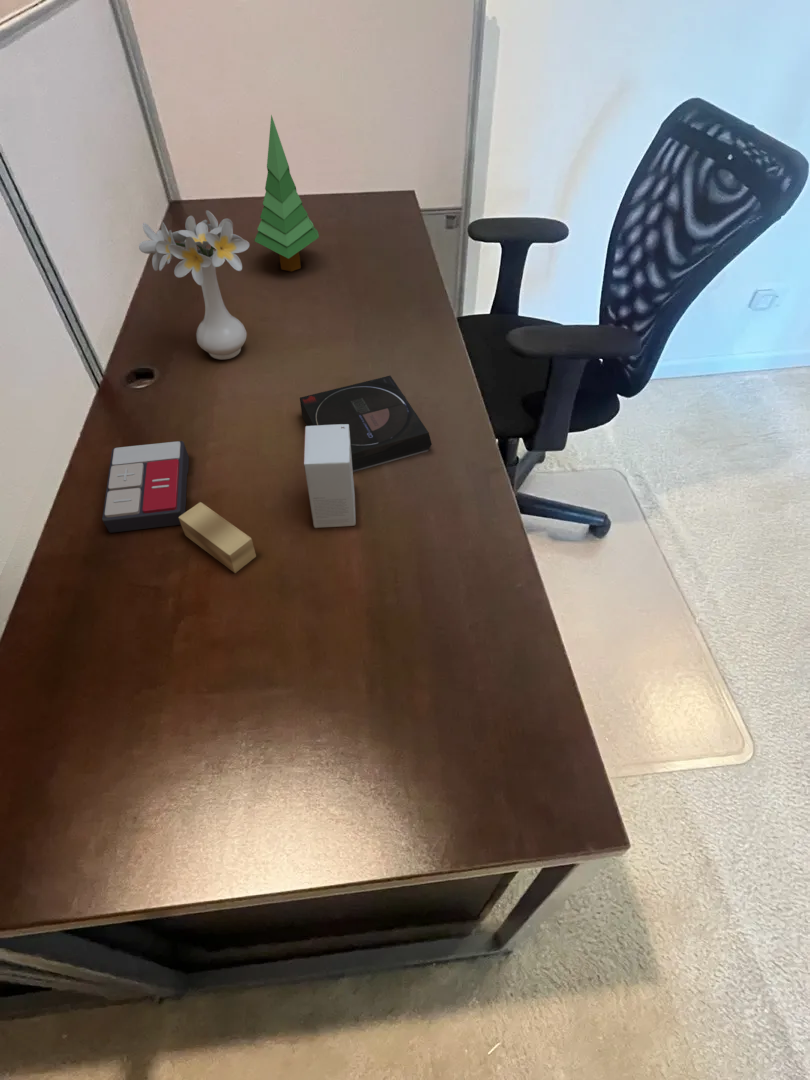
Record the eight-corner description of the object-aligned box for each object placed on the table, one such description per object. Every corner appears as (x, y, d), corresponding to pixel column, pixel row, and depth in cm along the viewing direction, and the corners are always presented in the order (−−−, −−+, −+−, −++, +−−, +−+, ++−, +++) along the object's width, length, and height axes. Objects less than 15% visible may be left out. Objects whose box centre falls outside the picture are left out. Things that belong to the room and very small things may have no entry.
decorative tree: (319, 247, 156) (305, 99, 133) (323, 281, 146) (308, 127, 123) (260, 251, 155) (236, 102, 132) (260, 285, 144) (233, 130, 122)
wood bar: (256, 556, 95) (251, 538, 92) (235, 573, 93) (229, 555, 90) (206, 520, 100) (200, 501, 97) (184, 535, 98) (178, 517, 95)
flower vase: (183, 331, 133) (146, 200, 114) (275, 334, 132) (253, 204, 113) (163, 370, 124) (120, 236, 105) (261, 374, 124) (236, 239, 105)
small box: (313, 490, 104) (304, 424, 94) (354, 488, 104) (349, 422, 94) (312, 529, 99) (303, 464, 89) (355, 527, 99) (350, 461, 89)
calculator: (99, 517, 95) (110, 443, 104) (109, 536, 98) (119, 463, 107) (178, 508, 96) (182, 436, 105) (186, 527, 100) (189, 456, 109)
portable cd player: (431, 450, 110) (432, 431, 107) (332, 477, 106) (330, 459, 103) (393, 393, 120) (393, 374, 117) (302, 416, 116) (299, 397, 113)
